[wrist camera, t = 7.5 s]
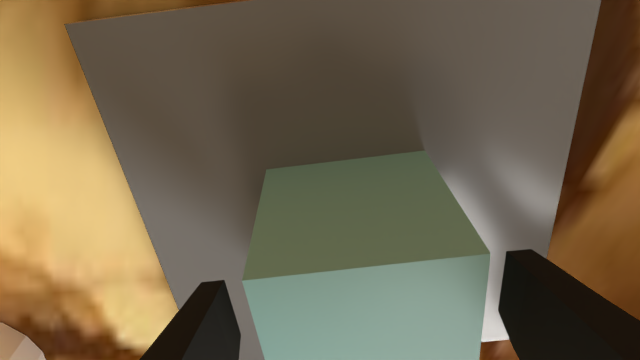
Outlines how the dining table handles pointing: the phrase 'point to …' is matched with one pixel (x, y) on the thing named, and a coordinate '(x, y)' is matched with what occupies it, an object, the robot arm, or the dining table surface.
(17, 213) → the dining table surface
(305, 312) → the teal cube
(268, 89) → the slate board
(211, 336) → the robot arm
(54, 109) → the dining table surface
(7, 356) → the white cup
